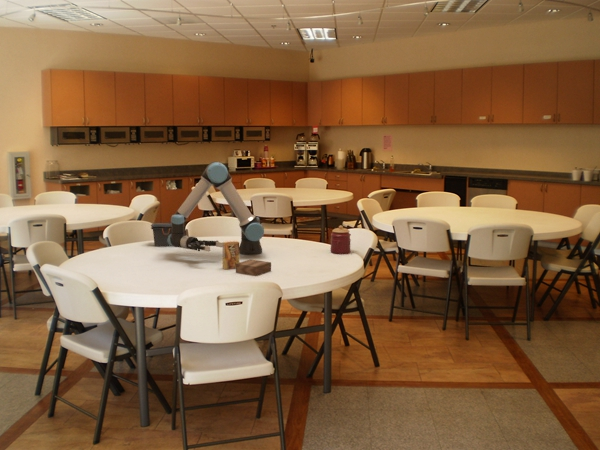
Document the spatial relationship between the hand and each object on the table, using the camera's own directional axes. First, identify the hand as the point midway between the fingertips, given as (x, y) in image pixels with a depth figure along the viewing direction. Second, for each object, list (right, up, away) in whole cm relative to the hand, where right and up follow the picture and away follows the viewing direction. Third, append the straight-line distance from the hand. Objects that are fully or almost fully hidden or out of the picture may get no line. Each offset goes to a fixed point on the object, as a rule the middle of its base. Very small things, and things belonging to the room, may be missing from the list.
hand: (217, 247), depth 362 cm
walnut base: (+22, -13, -12) cm, 28 cm away
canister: (+74, -5, +44) cm, 86 cm away
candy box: (+8, -12, -3) cm, 15 cm away
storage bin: (-42, -1, +62) cm, 75 cm away
